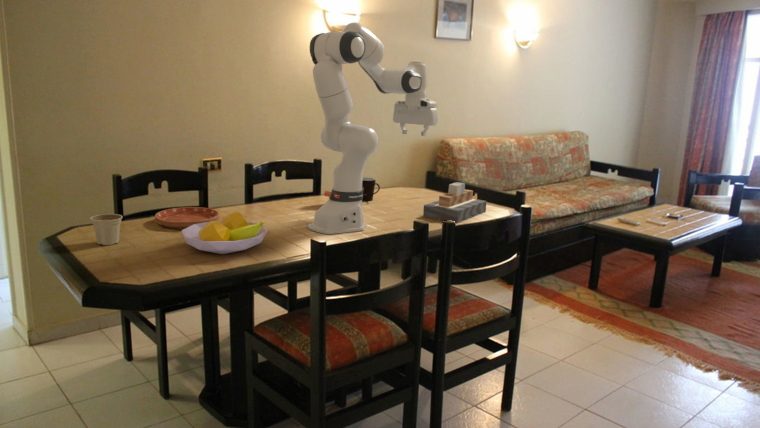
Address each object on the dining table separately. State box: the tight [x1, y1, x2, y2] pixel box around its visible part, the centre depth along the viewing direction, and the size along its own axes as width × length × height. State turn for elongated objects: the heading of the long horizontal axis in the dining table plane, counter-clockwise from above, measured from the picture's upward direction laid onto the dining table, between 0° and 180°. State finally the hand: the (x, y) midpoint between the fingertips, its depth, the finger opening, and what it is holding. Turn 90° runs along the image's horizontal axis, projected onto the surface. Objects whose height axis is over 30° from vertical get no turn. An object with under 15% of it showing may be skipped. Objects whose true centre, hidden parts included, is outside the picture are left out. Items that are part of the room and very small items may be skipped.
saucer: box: [154, 206, 220, 230], centre depth 213 cm, size 23×23×4 cm
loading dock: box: [422, 198, 487, 224], centre depth 245 cm, size 28×16×5 cm, turn 146°
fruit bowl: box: [180, 210, 268, 255], centre depth 182 cm, size 28×27×11 cm
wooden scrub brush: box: [438, 188, 474, 207], centre depth 244 cm, size 22×5×4 cm, turn 146°
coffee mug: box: [362, 176, 381, 202], centre depth 265 cm, size 12×9×10 cm
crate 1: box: [447, 182, 462, 195], centre depth 241 cm, size 4×4×4 cm
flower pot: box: [89, 213, 123, 246], centre depth 183 cm, size 9×9×9 cm
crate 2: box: [453, 182, 466, 193], centre depth 245 cm, size 4×4×4 cm
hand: (413, 134), depth 241 cm, fingers open, 8 cm apart
